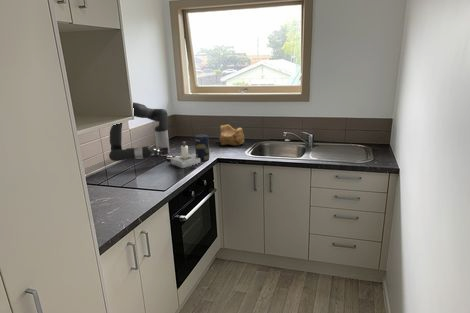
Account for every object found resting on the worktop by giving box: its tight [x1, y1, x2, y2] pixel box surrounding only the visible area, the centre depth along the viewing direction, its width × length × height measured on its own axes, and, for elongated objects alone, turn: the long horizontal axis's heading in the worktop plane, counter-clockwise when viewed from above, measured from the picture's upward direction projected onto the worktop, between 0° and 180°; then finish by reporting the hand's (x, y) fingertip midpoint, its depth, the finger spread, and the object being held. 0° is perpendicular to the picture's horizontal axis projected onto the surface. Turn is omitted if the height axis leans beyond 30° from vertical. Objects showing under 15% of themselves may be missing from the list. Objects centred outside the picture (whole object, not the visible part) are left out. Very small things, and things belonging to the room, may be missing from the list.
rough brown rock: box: [218, 124, 245, 147], centre depth 269 cm, size 23×17×15 cm
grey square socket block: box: [170, 153, 201, 169], centre depth 220 cm, size 14×14×4 cm
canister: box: [194, 133, 211, 161], centre depth 227 cm, size 10×10×18 cm
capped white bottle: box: [180, 141, 189, 160], centre depth 219 cm, size 4×4×15 cm
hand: (168, 150), depth 216 cm, fingers open, 8 cm apart
